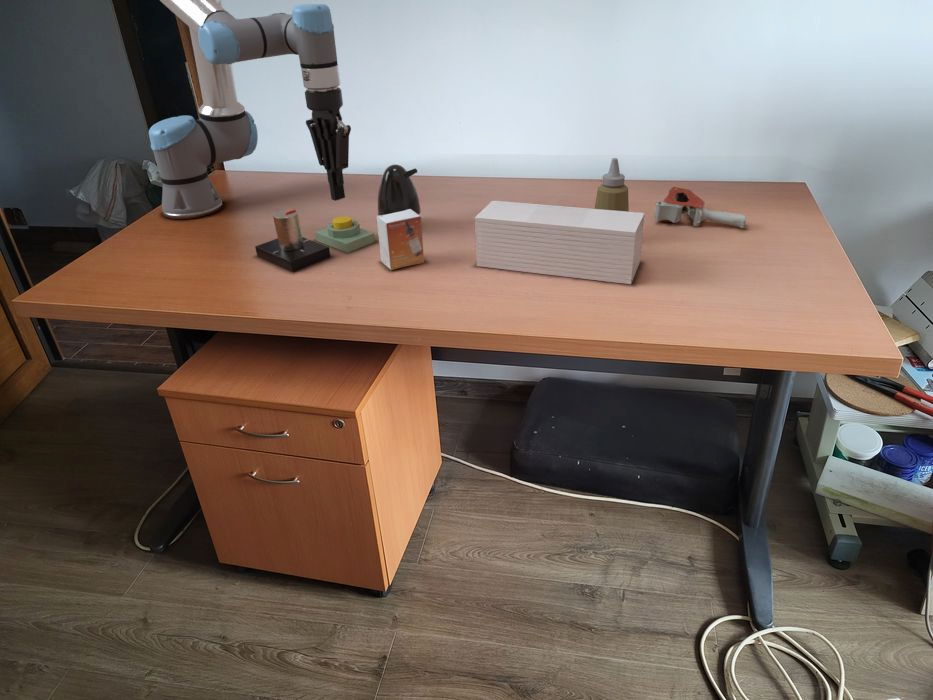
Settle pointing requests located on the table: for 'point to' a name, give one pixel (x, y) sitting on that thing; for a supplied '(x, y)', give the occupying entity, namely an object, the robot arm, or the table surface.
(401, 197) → the pump dispenser
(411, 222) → the small box
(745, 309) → the table surface
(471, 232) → the table surface
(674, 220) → the tape dispenser
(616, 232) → the white ridged block
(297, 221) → the dial
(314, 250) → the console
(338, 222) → the button
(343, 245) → the button box
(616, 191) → the squeeze bottle
